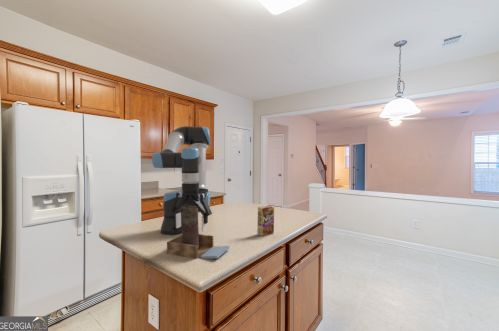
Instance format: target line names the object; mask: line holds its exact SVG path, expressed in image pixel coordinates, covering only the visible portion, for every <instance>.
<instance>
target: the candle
mask: <svg viewBox="0 0 499 331" xmlns="http://www.w3.org/2000/svg"><path fill="white" fill-rule="evenodd" d="M199 231H200V230H199V212H198V208H197V207H196V206H188V205H184V206H182V233H181V235H182V243H183V244H190V245H196V246H198V247H199V234H200V233H199Z"/></svg>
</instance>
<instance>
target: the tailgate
mask: <svg viewBox="0 0 499 331" xmlns="http://www.w3.org/2000/svg"><path fill="white" fill-rule="evenodd" d="M229 249H230V245H218V246H217V245H216V246H215V245H213V247H212V248H210V249H209V250H207V251H206V252H205V253H203V254H202V255H200V256H199V257H198V258H197V259H205V260H207V259H218V258H220V257H221V256H222V255H223V254H224V253H226V252H227V251H228V250H229Z"/></svg>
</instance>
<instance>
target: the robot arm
mask: <svg viewBox="0 0 499 331" xmlns="http://www.w3.org/2000/svg"><path fill="white" fill-rule="evenodd" d="M183 145H184V146H189V147H182V146H183ZM209 146H211V136H210V130H209V127H207V126H187V125H186V126H184V125H183V126H180V127H177V128H175V129H173V130H172V131H171V132H170V133H169V134H168V137H167V141H166V143H165V145H164V147H163V148H162V150H161V152H160V151H159V152H154V153H153V154H152V157H151V163H152V166H153V168H155V169H181V182H182V183H181V189H178V190H173V191H169V192H168V191H167V192H166V193H164V194H163V201H162V203H163V220H162V223H161V226H160V233H161V234H163V235H179V234H180V235H181V234H182V206H184V205H188V206H196V207H197V208H198V213H200V214H201V215H202V216H201V232H202V233H203V232H206V231H207V224H208V222H209V221H208V220H209V216H211V215H212V214H213V213H212V210H211V208H210V203H211V202H210V201H211V192H210V191H209V188H208V187H207V186H206V185H207V184H206V183H207V180H206V178H207V177H206V172H207V150H208V149H209ZM181 147H182V148H181ZM180 149H181V152H179V150H180Z"/></svg>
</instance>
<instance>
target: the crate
mask: <svg viewBox="0 0 499 331" xmlns="http://www.w3.org/2000/svg"><path fill="white" fill-rule="evenodd" d="M213 246H214V235H209V234H202V233H199V247H198V246H196V245H190V244H183V243H182V234H180V235H178V236H176V237H174V238H172V239H170V240H168V241H167V242H166V254H168V255H172V256H174V255H175V256H180V257H185V258H190V259H191V258H192V259H199V258H198V257H199V256H200V255H202V254H203V253H205V252H206V251H207V250H209V249H210V248H212V247H213Z"/></svg>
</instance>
